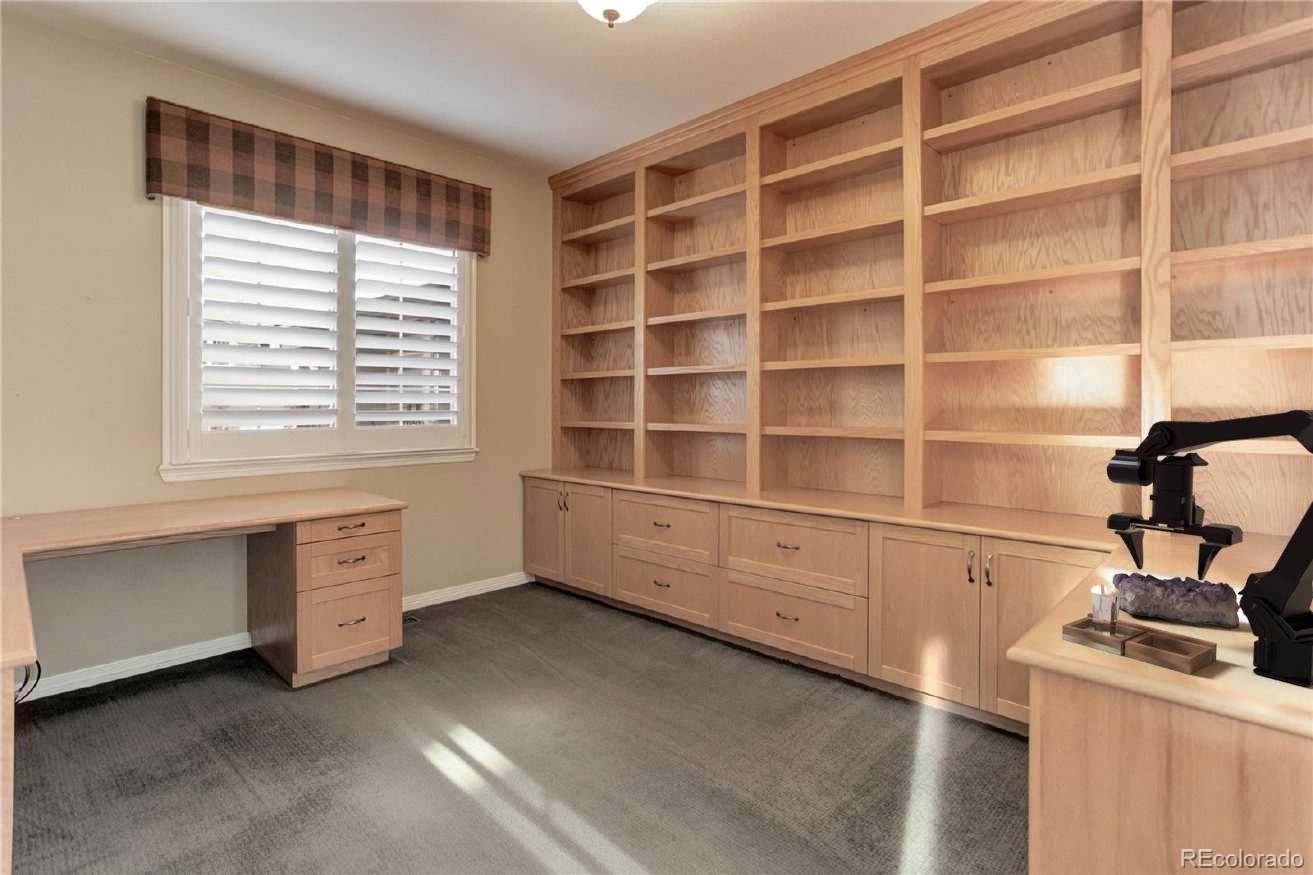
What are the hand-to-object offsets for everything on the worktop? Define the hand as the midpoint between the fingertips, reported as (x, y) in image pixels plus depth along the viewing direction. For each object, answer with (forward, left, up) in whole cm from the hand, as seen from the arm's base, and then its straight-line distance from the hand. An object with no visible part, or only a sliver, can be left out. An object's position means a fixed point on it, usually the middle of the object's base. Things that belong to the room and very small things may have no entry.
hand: (1169, 574), depth 118 cm
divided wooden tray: (+1, +12, -12) cm, 17 cm away
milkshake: (+5, +12, -11) cm, 17 cm away
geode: (+5, -16, -12) cm, 21 cm away
